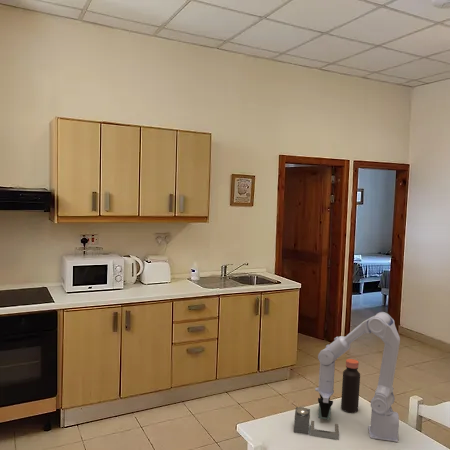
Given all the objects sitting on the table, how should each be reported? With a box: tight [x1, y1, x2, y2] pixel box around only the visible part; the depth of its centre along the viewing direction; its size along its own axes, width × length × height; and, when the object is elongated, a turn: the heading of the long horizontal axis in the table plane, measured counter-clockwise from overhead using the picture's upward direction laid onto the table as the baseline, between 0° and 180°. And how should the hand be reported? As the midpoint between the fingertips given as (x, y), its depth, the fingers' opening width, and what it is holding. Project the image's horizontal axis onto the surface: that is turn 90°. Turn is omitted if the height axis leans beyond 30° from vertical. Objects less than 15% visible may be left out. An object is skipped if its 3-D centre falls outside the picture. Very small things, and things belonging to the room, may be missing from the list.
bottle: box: [340, 358, 361, 414], centre depth 181 cm, size 7×7×20 cm
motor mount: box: [293, 406, 340, 441], centre depth 163 cm, size 16×8×7 cm, turn 78°
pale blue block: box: [317, 404, 332, 421], centre depth 175 cm, size 4×4×5 cm
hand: (324, 412), depth 175 cm, fingers open, 7 cm apart
